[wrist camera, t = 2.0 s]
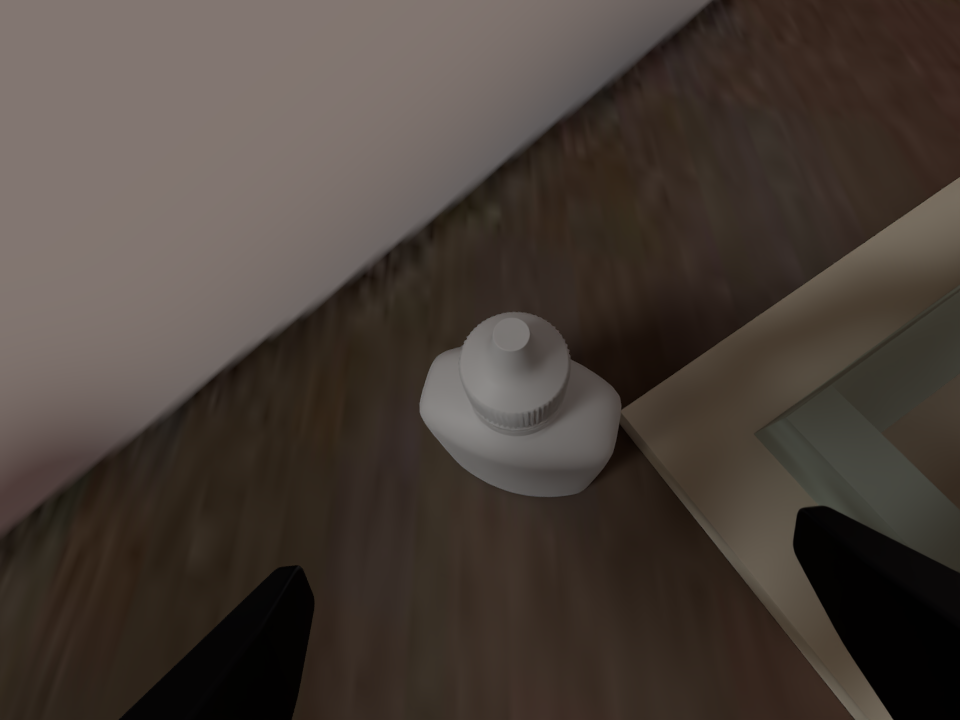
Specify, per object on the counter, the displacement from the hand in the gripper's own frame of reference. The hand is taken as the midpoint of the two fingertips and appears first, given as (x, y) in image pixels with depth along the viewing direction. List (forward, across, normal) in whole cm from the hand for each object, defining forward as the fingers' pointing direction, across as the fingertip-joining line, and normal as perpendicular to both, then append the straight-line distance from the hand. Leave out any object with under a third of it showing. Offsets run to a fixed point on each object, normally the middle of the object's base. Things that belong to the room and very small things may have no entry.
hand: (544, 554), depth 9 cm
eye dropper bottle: (+10, 0, +5) cm, 12 cm away
